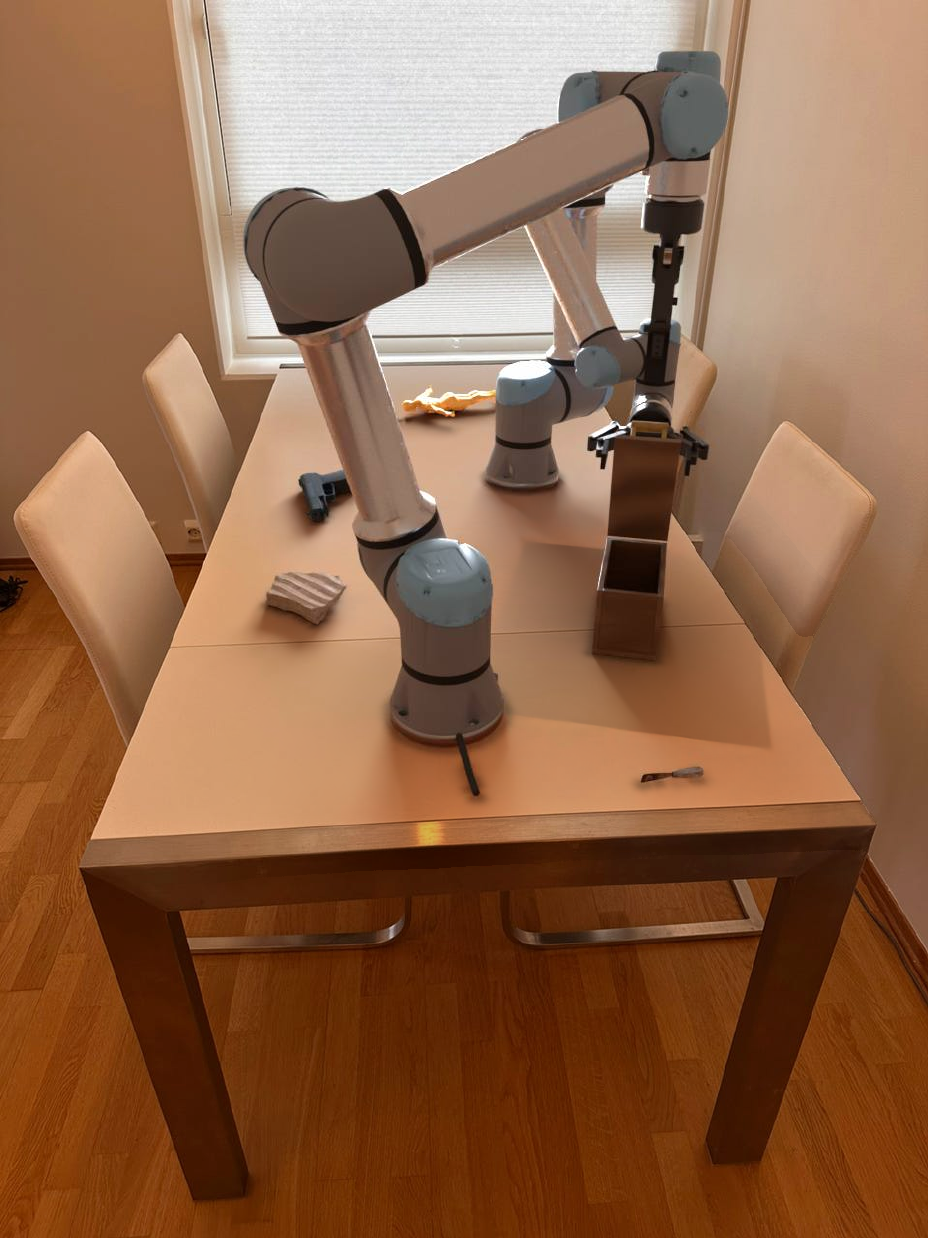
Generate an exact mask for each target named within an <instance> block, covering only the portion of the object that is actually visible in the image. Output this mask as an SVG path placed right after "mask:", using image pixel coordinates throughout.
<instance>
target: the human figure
mask: <svg viewBox="0 0 928 1238" xmlns="http://www.w3.org/2000/svg"><path fill="white" fill-rule="evenodd" d="M495 390H496V389H493V390H491V391H478V390H473V391H470V392H469V393H468V394H460V393H457V394H455V393H453V392H446V393H444V394H443V395H442V396H441V397H440V398H434V397H429V396H430V395H432V394H433V392H434V391H433V389H432V385H429V387H428V389H424V391H425V392H423V393H422V394H420V395H418V396H416V398H415V399H414V400H404V401H403V402H402V411H404V412H405V413H410V414H412V413H414V412H417V408H418V409H420V410H421V411H423V412H424V413H427V414H439V415H443V416H444V417H449V416H450V417H451V418H452V417H453V418H454V417H455V416H456V414H455V411H462V410H464V409H467V408H469V407H471V406H473V405H476V404H478V403H481V402H484V401H488V400H493V402H494V403H495V404H496V398H495ZM450 410H452V411H450Z"/></svg>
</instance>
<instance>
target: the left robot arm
mask: <svg viewBox="0 0 928 1238" xmlns="http://www.w3.org/2000/svg"><path fill="white" fill-rule="evenodd" d="M721 61H722V60H721V57H720V55H719V54H718V53H717V52H716V51H713V50H712V51H711V50H679V51H678V50H670V51H667V50H666V51H665V50H664V51H661V52H660V53H659V54H658V55H657V57H656V61H655V65H654V69H653V70H650V71H615V70H614V71H611V70H610V71H599V70H598V71H597V70H590V71H583V72H576V73H572V74H570V76H568V77H567V78H566V80H565V81H564V83H563V84H562V87H561V89H560V92H559V96H558V100H557V112H556V113H557V115H556V117H557V122H556V123H554V124H552V125H550V126H547V127H545V128H542V129H543V130H541V131H538V132H536V133H534V134H532V135H530V136H527V137H525V138H523V139H521V140H518V139H517V140H518V141H517V140H515V141H514V142H512V143H509V144H508V145H506V146H503V147H501V148H499V149H497V150H494V151H492V152H490V153H488V154H485V155H483V156H481V157H479V158H477V159H474V160H472V161H469V162H468V163H465V164H463V165H461V166H459V167H457V168H454V169H452V170H450V171H448V172H446V173H444V174H441V175H439V176H437V177H434V178H432V179H430V180H428V181H426V182H423V183H422V184H419V185H417V186H415V187H412V188H410V189H408V190H406V191H404V192H400V191H397V190H395V189H393V188H391V187H388V186H387V187H385V188H383V189H380V190H378V191H376V192H374V193H371V194H369V195H366V196H362V197H359V198H355V199H347V200H339V201H338V200H332V199H330V198H329V197H328V196H327V195H326V194H324V193H322V192H320V191H318V190H316V189H313V188H308V187H303V186H302V187H301V186H300V187H298V186H294V187H284V188H279V189H277V190H273V191H272V192H270V193H268V194H266V195H265V196H263V198H261V199H260V200H259V201H258V202H257V203H256V204H255V206H254V207H253V208H252V210H250V213H249V215H248V216H247V219H246V222H245V225H244V229H243V235H242V236H243V238H242V244H243V252H244V253H243V254H244V257H245V261H246V264H247V266H248V269H249V270H250V272H251V274H253V277H254V278H255V279H256V280H257V281H258V282H259V284H260V287H261V288H262V291H263V294H264V297H265V300H266V303H267V305H268V307H269V310H270V313H271V315H272V317H273V321H274V323H275V325H276V328H277V332H278V333H279V335H281V336H282V337H284V338H286V339H288V340H290V341H293V342H294V343H295V344H296V345H297V347H298V350H299V352H300V355H301V359H302V361H303V364H304V366H305V370H306V372H307V375H308V378H309V379H310V383H311V386H312V389H313V391H314V393H315V397H316V399H317V402H318V406H319V407H320V411H321V413H322V416H323V419H324V421H325V424H326V426H327V429H328V433H329V435H330V438H331V440H332V443H333V446H334V448H335V451H336V455H337V457H338V460H339V463H340V465H341V468H342V470H343V471H344V473H345V476H346V479H347V481H348V484H349V487H350V492H351V495H352V498H353V500H354V504H355V506H356V509H357V513H356V515H355V516H354V518H353V521H352V523H351V524H352V525H351V526H352V527H351V528H352V530H353V534H354V536H355V539H356V543H357V544H356V545H357V554H358V558H359V562H360V565H361V568H362V569H363V571H364V573H365V575H366V576H367V578H369V580H370V581H371V582H372V583H373V585H374V586H375V588H376V589H377V591H378V592H379V594H380V596H381V597H382V598H383V600H384V601H385V603H386V604H387V606H388V608H389V610H390V611H391V612H392V614H393V616H394V617H395V619H396V620H397V623H398V627H399V633H400V634H399V635H400V652H401V653H400V655H401V667H400V669H399V672H398V675H397V678H396V681H395V684H394V687H393V690H392V693H391V695H390V700H389V706H390V718H391V721H392V724H393V725H394V727H395V728H396V729H397V731H398V732H399V733H400V734H402V735H403V736H404V737H406V738H407V739H409V740H411V741H413V742H415V743H417V744H420V745H421V744H422V745H425V746H430V747H437V748H454V747H455V748H457V747H458V750H459V751H458V752H459V754H460V758H461V761H462V765H463V769H464V773H465V776H466V779H467V782H468V785H469V788H470V791H471V794H472V796H474V797H479V796H480V794H481V791H480V787H479V785H478V783H477V782H478V781H477V779H476V777H475V774H474V771H473V766H472V764H471V760H470V755H469V752H468V749H467V745H471V744H473V743H476V742H480V741H481V740H483V739H485V738H486V737H488V736H489V735H491V734H492V733H493V732H494V731H495V730H496V729H498V727H499V726H500V724H501V722H502V720H503V717H504V702H505V701H504V696H503V695H504V694H503V693H502V690H501V687H500V685H499V674H498V673H496V672H494V668H493V666H492V664H491V654H492V653H491V651H492V649H491V648H492V647H491V645H492V608H493V607H492V605H493V596H494V585H493V583H492V581H493V580H492V573H491V568H490V565H489V563H488V561H487V559H486V557H485V556H484V555H483V554H482V553H481V552H480V551H479V550H478V549H476V548H475V547H473V546H472V545H470V544H467V543H463V544H460V542H459V541H458V540H456V539H449V538H447V535H446V532H445V528H444V525H443V522H442V519H441V515H440V513H439V510H438V505H437V502H436V500H435V498H434V497H433V496H431V495H430V494H428V493H427V492H424V491H421V489H420V487H419V484H418V483H419V482H418V480H417V477H416V474H415V470H414V467H413V464H412V460H411V457H410V455H409V451H408V448H407V444H406V442H405V438H404V434H403V431H402V428H401V425H400V422H399V419H398V416H397V413H396V409H395V406H394V403H393V399H392V396H391V394H390V390H389V386H388V383H387V381H386V377H385V375H384V371H383V368H382V364H381V361H380V358H379V355H378V353H377V352H378V351H377V349H376V345H375V342H374V339H373V335H372V332H371V330H370V327H369V323H368V319H369V317H370V315H371V313H372V311H373V310H375V309H376V308H379V307H381V306H384V305H385V304H387V303H390V302H391V301H394V300H396V299H398V298H400V297H402V296H405V295H407V294H408V293H411V292H413V291H414V290H416V289H417V290H418V289H419V288H422V287H424V286H425V285H427V284H428V283H429V280H430V278H431V274H432V272H433V270H434V269H436V268H439V267H441V266H443V265H445V264H447V263H449V262H452V261H453V260H455V259H458V258H460V257H463V256H464V255H466V254H468V253H470V252H472V251H475V250H477V249H479V248H481V247H483V246H485V245H487V244H489V243H492V242H493V241H496V240H498V239H501V238H502V237H504V236H506V235H509V234H511V233H513V232H516V231H518V230H519V229H521V228H525V227H524V226H526V225H528V224H530V223H532V222H534V221H536V220H538V219H541V218H543V217H545V216H547V215H549V214H551V213H553V212H555V211H557V210H560V209H562V208H564V207H566V206H568V205H570V204H572V203H574V202H577V201H579V200H581V199H583V198H585V197H587V196H589V195H591V194H594V193H596V192H598V191H600V190H602V189H604V188H606V187H608V186H611V185H613V184H617V183H619V182H621V181H624V180H625V179H627V178H630V177H632V176H634V175H637V174H638V173H640V174H641V175H642V176H647V177H646V179H645V184H644V186H645V187H644V192H645V194H646V195H647V196H649V197H646V198H645V199H644V200H643V202H642V211H641V212H642V213H641V223H640V224H641V225H640V229H642V231H643V232H645V233H648V234H653V235H656V234H658V235H659V238H660V242H659V244H653V248H652V252H651V253H652V255H651V264H652V271H651V283H652V284H653V285H654V286H653V296H652V303H651V305H652V306H651V314H650V318H651V322H650V324H649V325H644V332H648V341H647V351H646V360H645V370H644V380H643V382H646V383H663V384H664V381H665V373H666V364H667V356H668V347H669V338H670V330H671V319H672V316H673V306H678V300H679V297H676V296H675V297H674V295H675V286H676V285H677V284H678V283H679V281H680V274H681V266H682V265H683V263H684V258H685V257H684V256H685V245H680V243H679V242H680V239H681V235H686V236H689V235H695V234H698V233H699V232H700V231H701V230H702V228H703V227H702V226H703V220H704V212H705V211H704V210H705V202H704V200H703V199H702V197H703V196H705V195H706V194H707V191H708V183H709V176H710V175H709V174H710V167H711V152H712V150H713V149H714V148H715V147H716V146H717V144H719V141H720V140H721V139H722V137H723V135H724V133H725V130H726V127H727V124H728V119H729V103H728V97H727V93H726V91H725V89H724V87H723V86H722V84H721V74H722V73H721V71H722V62H721ZM613 186H614V185H613Z"/></svg>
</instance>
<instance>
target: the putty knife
mask: <svg viewBox="0 0 928 1238" xmlns="http://www.w3.org/2000/svg"><path fill="white" fill-rule="evenodd" d="M704 772H705V771H704V768H702V767H701V766H697V765H695V766H688V767H683V768H679V769H675V770H673V771H671V772H653V773H652V772H651V773H650V772H649V773H644V774H642V776H641V779H640V783H642V784H645V783H648V782H653V781H659V780H665V779H668V778H673V779H674V778H675V779H693V778H694V779H695V778H700V777H702V776H703V775H704Z"/></svg>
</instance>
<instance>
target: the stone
mask: <svg viewBox="0 0 928 1238" xmlns="http://www.w3.org/2000/svg"><path fill="white" fill-rule="evenodd" d="M346 589H347V585H346V583H345V582H343V580H341V579H340V575H332V574H329V573H326V572H320V571H318V572H315V571H314V572H308V573H306V572H300V571H289V572H287V573H281V572H279V573H277V574H275V576H274V579H273V581H272V584H271V587H270V590H268V591H267V592H266V594H265V597H266V600H265V604H266V605H267V606H268V605H269V606H271V607H275V608H278V609H281V610H282V611H289V612H292V613H296V614H297V615H299V616H301V617H302V618H304V619H305V620H307V621H309V622H311V623H312V624H315V625H319V624H320V622H321V621H323V620H324V619H325V618H326V615H327V612H328V611H329V609H330V607H332V606H333V605H334V603H335V602H336V601H338V600H339V599H340V598H341V596H342V595H343V593H344V591H345V590H346Z"/></svg>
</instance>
